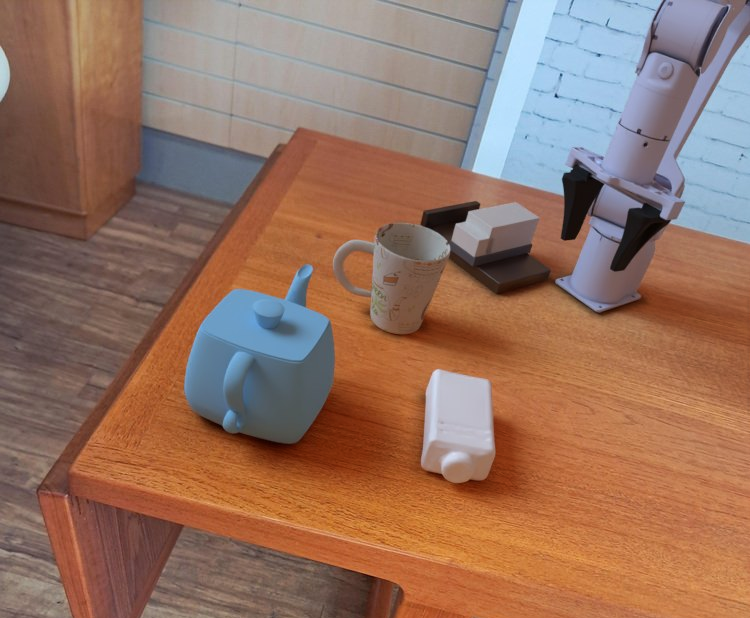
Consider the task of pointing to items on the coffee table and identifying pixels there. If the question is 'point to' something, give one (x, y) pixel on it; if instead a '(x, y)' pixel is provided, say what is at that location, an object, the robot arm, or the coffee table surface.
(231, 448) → the coffee table surface
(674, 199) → the robot arm
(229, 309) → the teapot
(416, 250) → the mug
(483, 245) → the white stepped block
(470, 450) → the white bottle
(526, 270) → the shoe shelf
